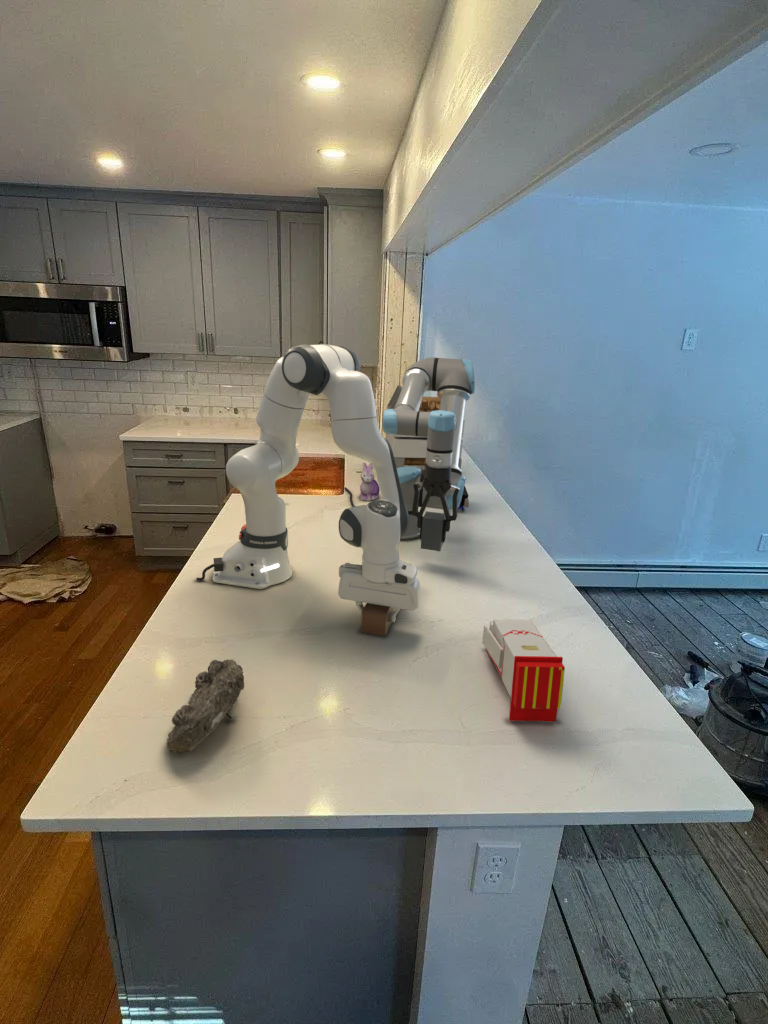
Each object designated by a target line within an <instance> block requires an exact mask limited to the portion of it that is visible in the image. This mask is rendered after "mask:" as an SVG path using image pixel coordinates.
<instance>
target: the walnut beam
mask: <svg viewBox="0 0 768 1024" xmlns="http://www.w3.org/2000/svg"><path fill="white" fill-rule="evenodd" d="M410 564H411V565H413V564H412V563H410ZM390 613H394V607H388V606H382V605H376V604H370V603H365V605H364V608H363V610H362V617H361V628H360V629H361V631H360V632H361V633H363V634H364V633H366V634H371V635H375V636H382V637H386V635H387V633H388V631H389V629H390V627H391V625H392V623H393V622H389V615H390Z"/></svg>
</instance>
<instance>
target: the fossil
mask: <svg viewBox="0 0 768 1024" xmlns="http://www.w3.org/2000/svg"><path fill="white" fill-rule="evenodd" d="M243 670H244V669H243V667H242V665H240V664H237V662H236V661H235V660H234V659H232V658H231V659H227V658H226V659H224V660H223V661H222V660H217V659H212V660H211V661H210V663H209V665H208V666H207V671H201V672H199V673H198V674H197V675H196V676H195V680H194V684H195V685H194V687H195V689H194V690H193V693H192V694H191V697H190V698H189V700H188V704H184V705H182V706H181V707H180V709H177V710H176V711H175V713H174V715H173V716H172V718H171V723H172V724H173V727H172V730H171V731H170V732H168V734H167V738H166V741H167V742H166V745H167V749H168V750H169V751H173V752H174V753H176V754H178V753H182V752H188V751H189V752H192V751H193V750H195V748H196V747H197V746H199V744H200V743H201V742H203V741H204V740H205V739H206V738H207V737H208V736H209V735H210V734H211V733H212V732H214V730H215V729H217V727H218V726H219V724H220V722H221V721H222V720H223V719H224V718H225V716H226V717H227V719H229V720H233V717H232V715H230V714H229V710H230V709H231V708H234V706H235V704H236V703H237V702H238V699H239V697H240V695H241V693H242V691H243V690H245V689H244V688H245V675H244V671H243Z"/></svg>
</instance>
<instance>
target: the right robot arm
mask: <svg viewBox="0 0 768 1024" xmlns="http://www.w3.org/2000/svg"><path fill="white" fill-rule="evenodd" d="M475 373H476V372H475V363H474V362H473V360H470V359H463V358H449V357H448V358H446V357H445V358H444V357H434V356H433V357H426V358H425V357H424V358H422V359H420V360H418V361H416V362H414V363H413V364H411V365H410V366H409V367H408V368H407V369H406V370H405V372H404V374H403V376H402V386H401V387H402V390H401V392H400V395H399V397H398V400H397V403H396V405H395V408H394V409H387V408H386V409H385V410H384V411H383V414H382V422H381V423H382V424H381V425H382V426H381V427H382V431H383V433H384V434H385V435H386V434H394V435H406V436H418V437H427V450H426V464H427V465H426V466H424V472H422V469H421V468H420V467H417V466H404V467H400V468H397V473H398V477H399V482H400V487H401V491H402V496H403V500H404V503H405V505H406V508H407V511H408V514H409V520H410V521H409V526H408V528H407V530H406V532H405V534H404V535H403V536H402V537H401V538H400V541H410V540H415V539H418V538H419V540H421V535H422V521H423V516H424V514H425V512H426V509H427V508H428V509H438V510H443V513H444V514H445V520H444V522H443V533H442V542H443V544H444V543H445V542H446V539H447V537H446V536H447V533H449V532H450V530H451V523H452V522H455V521H457V519H458V509H459V508H458V507H459V505H460V502H461V498H462V494H463V490H464V486H466V485H465V484H466V477H465V476H463V471H462V469H461V470H460V469H459V467H458V464H459V455H460V445H461V440H462V438H461V436H462V426H463V419H464V417H465V406H466V402H467V401H469V400H470V398H471V395H474V394H475V392H476V381H475V380H476V375H475ZM426 392H436V397H438V398H439V399H440V400H441V402H440V410H436V411H432V412H421V411H419V408H420V404H421V401H422V398H423V397H424V394H425V393H426ZM344 490H345V491H346V492H348V494H349V502H350V505H351V507H355V506H356V505H355V504H354V503H353V501H354V500H353V493H352V492H351V490H349V489H348V488H347V487H346V486H345V487H344ZM419 508H420V509H419ZM451 511H452V512H451ZM451 514H452V515H451Z"/></svg>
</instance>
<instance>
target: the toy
mask: <svg viewBox="0 0 768 1024" xmlns="http://www.w3.org/2000/svg"><path fill="white" fill-rule="evenodd" d="M481 639H482V640H481V643H482V645H483V646H484V648H485V650H486V651H485V652H486V653H487V654H488V656H489V658H490V660H491V661H492V663H493V665H494V667H495V669H496V671H497V672H498V675H499V676H500V678H501V680H502V683H503V684H504V686H505V688H506V691H507V693H508V695H509V697H510V704H509V715H508V720H509V722H557V716H558V710H561V708H562V707H561V706H562V697H563V687H564V678H565V670H566V669H565V668H566V667H565V665H564V664H563V660H564V658H563V656H557V654H556V653H555V652H554V650H553V649H552V647H551V646H550V645H549V642H547V640H546V639H545V637H544V636H543V635H542V633H541V631H540V630H539V629H538V627H537V625H536V624H535V623H534V622H533V621H532V619H505V618H504V619H499V618H498V619H496V618H493V619H492V621H489V626H488V625H486V624H484V625H483V632H482V638H481Z"/></svg>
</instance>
